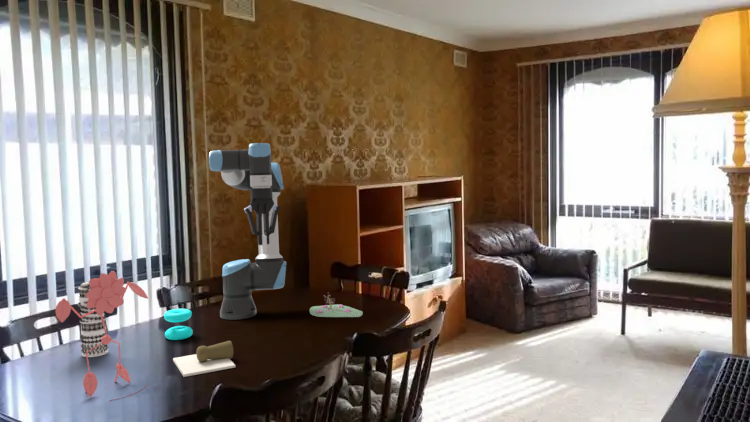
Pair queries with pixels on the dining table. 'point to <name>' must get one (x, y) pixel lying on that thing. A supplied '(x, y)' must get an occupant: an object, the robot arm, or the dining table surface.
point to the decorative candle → (90, 326)
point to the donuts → (178, 331)
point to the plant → (334, 310)
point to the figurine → (104, 298)
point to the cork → (215, 351)
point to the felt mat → (201, 365)
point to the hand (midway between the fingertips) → (264, 253)
